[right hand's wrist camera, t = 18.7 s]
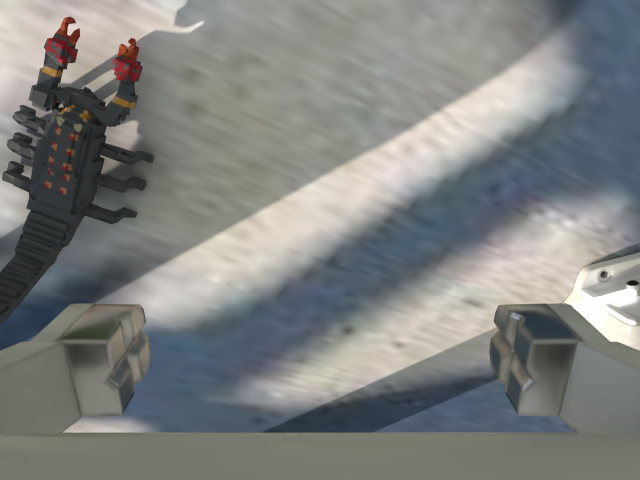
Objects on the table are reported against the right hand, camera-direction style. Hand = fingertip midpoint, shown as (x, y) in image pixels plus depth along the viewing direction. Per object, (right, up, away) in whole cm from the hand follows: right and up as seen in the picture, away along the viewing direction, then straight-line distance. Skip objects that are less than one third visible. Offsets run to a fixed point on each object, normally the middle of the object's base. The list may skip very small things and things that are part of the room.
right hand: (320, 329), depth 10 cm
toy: (-24, +11, +36) cm, 44 cm away
